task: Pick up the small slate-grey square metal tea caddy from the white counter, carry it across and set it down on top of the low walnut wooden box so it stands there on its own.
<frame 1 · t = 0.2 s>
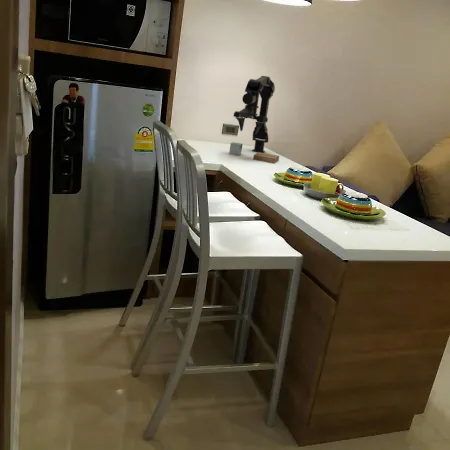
hand: (248, 132, 283), 13 cm above the worktop, fingers open, 9 cm apart
walnut box: (265, 160, 288), on the worktop
tea caddy: (235, 154, 292), on the worktop
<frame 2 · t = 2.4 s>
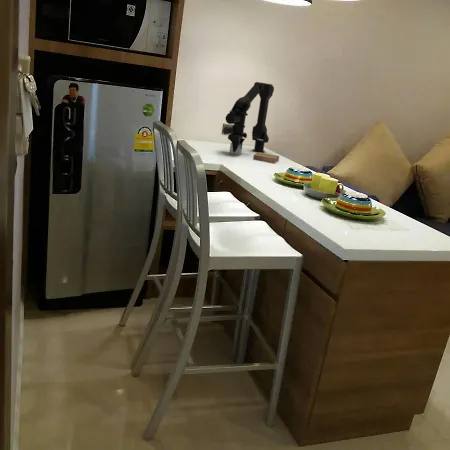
hand: (235, 151, 291), 2 cm above the worktop, fingers closed on tea caddy, 5 cm apart
tea caddy: (235, 153, 292), on the worktop, touching gripper
everything else where it was.
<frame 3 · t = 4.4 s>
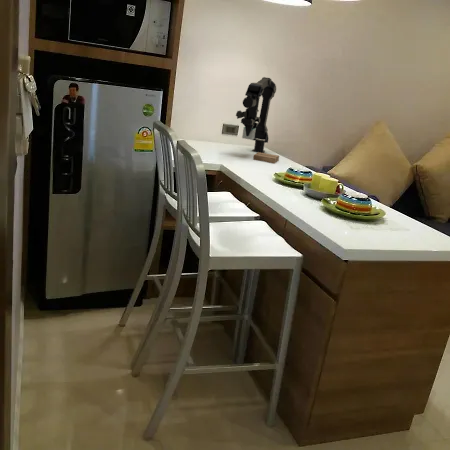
hand: (248, 135, 287), 11 cm above the worktop, fingers closed on tea caddy, 5 cm apart
tea caddy: (248, 138, 287), point 10 cm above the worktop, touching gripper
everything else where it was.
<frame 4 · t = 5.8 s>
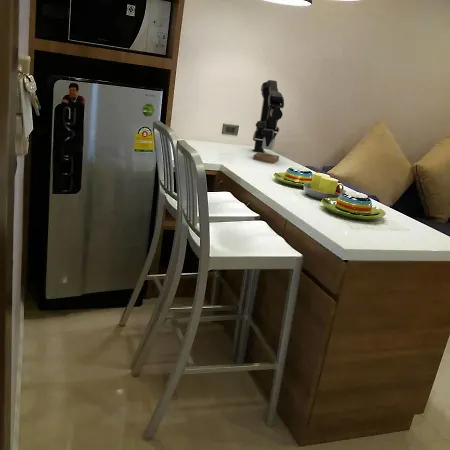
hand: (268, 145, 285), 8 cm above the worktop, fingers closed on tea caddy, 5 cm apart
tea caddy: (267, 148, 286), point 6 cm above the worktop, touching gripper
everything else where it was.
when the fingers open (5 cm above the worktop, at t = 6.7 s): tea caddy drops 1 cm, point 2 cm above the worktop.
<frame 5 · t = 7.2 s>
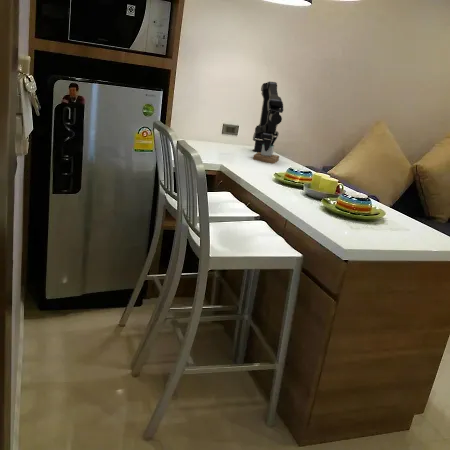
hand: (267, 150, 286), 5 cm above the worktop, fingers open, 9 cm apart
tea caddy: (266, 155, 287), point 2 cm above the worktop
everything else where it was.
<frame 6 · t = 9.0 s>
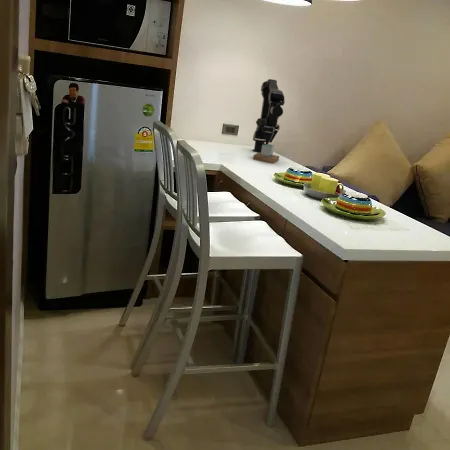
hand: (268, 143, 285), 9 cm above the worktop, fingers open, 9 cm apart
nothing on the worktop moved.
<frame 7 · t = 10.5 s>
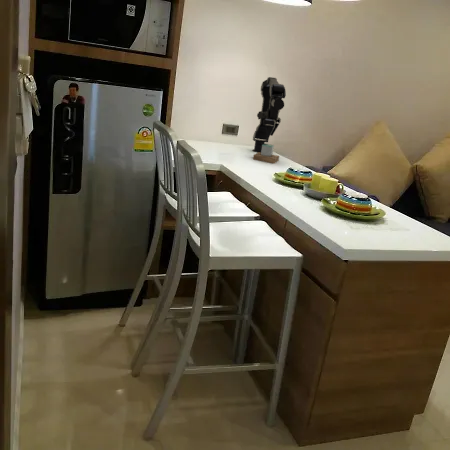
hand: (269, 136, 284), 13 cm above the worktop, fingers open, 9 cm apart
walnut box: (265, 160, 288), on the worktop, touching tea caddy
tea caddy: (266, 155, 287), point 2 cm above the worktop, touching walnut box
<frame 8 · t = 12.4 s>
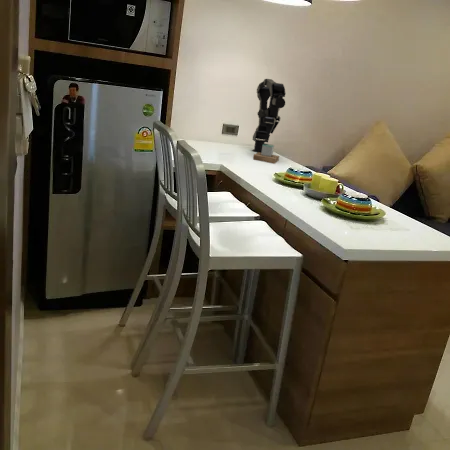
hand: (269, 134, 292), 13 cm above the worktop, fingers open, 9 cm apart
nothing on the worktop moved.
at the end: tea caddy inside the target area on the walnut box (0.1 cm from its centre), point 3.0 cm above the walnut box's base; tea caddy touching nothing; tea caddy tilted 1° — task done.
